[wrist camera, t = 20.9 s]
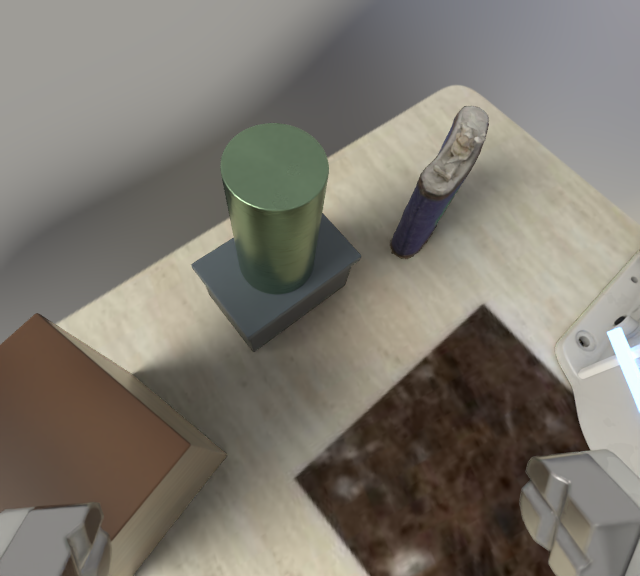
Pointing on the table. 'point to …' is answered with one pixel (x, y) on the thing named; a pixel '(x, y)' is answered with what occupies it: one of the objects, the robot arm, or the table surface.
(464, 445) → the table surface
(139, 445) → the block
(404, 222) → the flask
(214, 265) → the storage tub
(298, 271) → the tin
